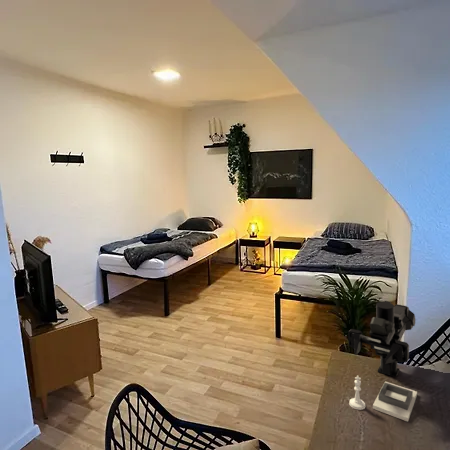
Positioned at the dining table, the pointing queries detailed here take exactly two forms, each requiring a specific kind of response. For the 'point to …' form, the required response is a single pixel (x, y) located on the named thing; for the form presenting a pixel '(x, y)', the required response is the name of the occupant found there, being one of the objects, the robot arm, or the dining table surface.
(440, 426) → the dining table surface
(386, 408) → the board
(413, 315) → the robot arm
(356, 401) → the chess piece
